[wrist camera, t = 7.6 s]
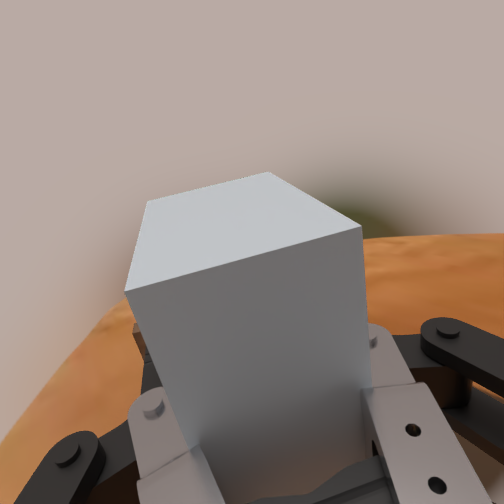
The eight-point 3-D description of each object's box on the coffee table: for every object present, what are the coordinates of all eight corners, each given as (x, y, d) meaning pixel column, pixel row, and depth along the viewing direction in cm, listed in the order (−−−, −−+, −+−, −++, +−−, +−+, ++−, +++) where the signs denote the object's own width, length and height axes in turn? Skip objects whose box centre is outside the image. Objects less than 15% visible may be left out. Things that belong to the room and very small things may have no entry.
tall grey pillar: (312, 422, 16) (268, 171, 11) (384, 579, 11) (361, 225, 6) (230, 450, 16) (147, 201, 11) (263, 630, 10) (124, 291, 5)
